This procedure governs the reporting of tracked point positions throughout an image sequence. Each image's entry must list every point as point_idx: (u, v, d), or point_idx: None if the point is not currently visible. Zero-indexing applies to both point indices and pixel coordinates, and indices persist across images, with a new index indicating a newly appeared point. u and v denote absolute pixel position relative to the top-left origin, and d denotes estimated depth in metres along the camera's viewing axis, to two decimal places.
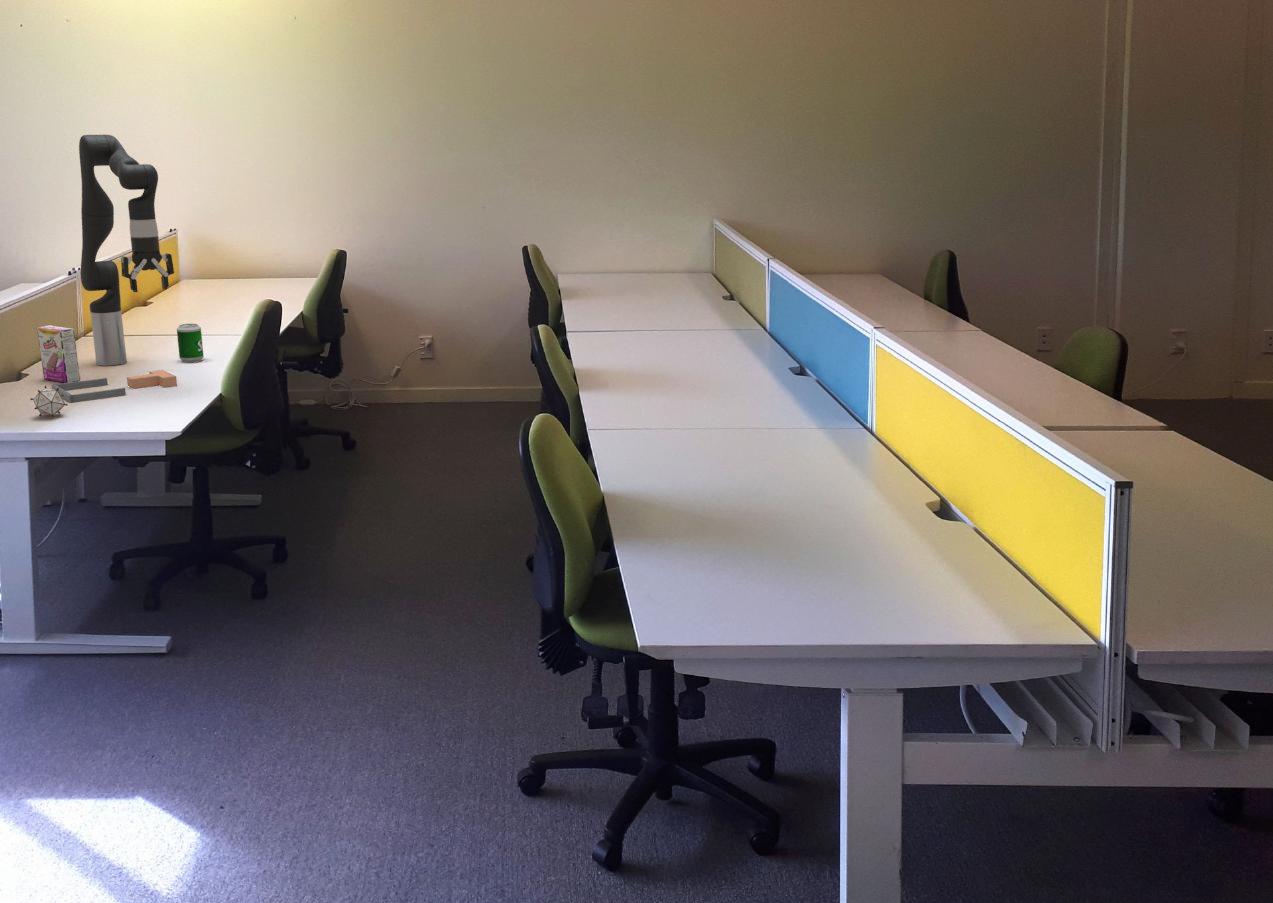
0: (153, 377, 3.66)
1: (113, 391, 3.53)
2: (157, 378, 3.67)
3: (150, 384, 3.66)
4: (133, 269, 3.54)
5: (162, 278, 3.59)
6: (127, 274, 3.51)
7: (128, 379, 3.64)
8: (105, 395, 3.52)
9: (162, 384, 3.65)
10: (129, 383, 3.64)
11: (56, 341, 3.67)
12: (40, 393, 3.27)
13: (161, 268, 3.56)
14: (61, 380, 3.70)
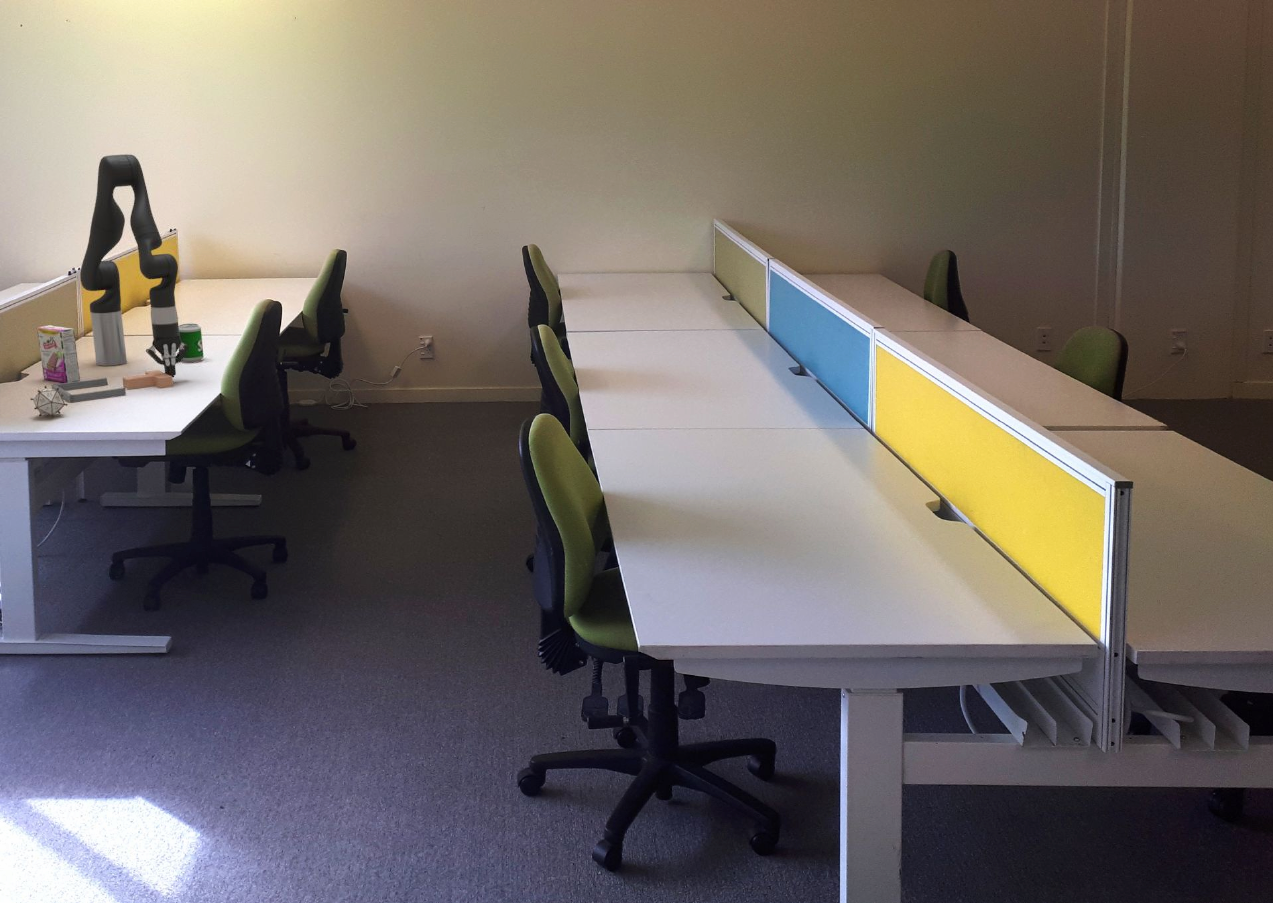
0: (149, 377, 3.65)
1: (113, 391, 3.53)
2: (153, 378, 3.66)
3: (146, 384, 3.65)
4: (162, 356, 3.69)
5: None
6: (162, 361, 3.68)
7: (124, 379, 3.63)
8: (105, 395, 3.52)
9: (158, 384, 3.65)
10: (124, 383, 3.63)
11: (56, 341, 3.67)
12: (40, 393, 3.27)
13: (174, 355, 3.69)
14: (61, 380, 3.70)
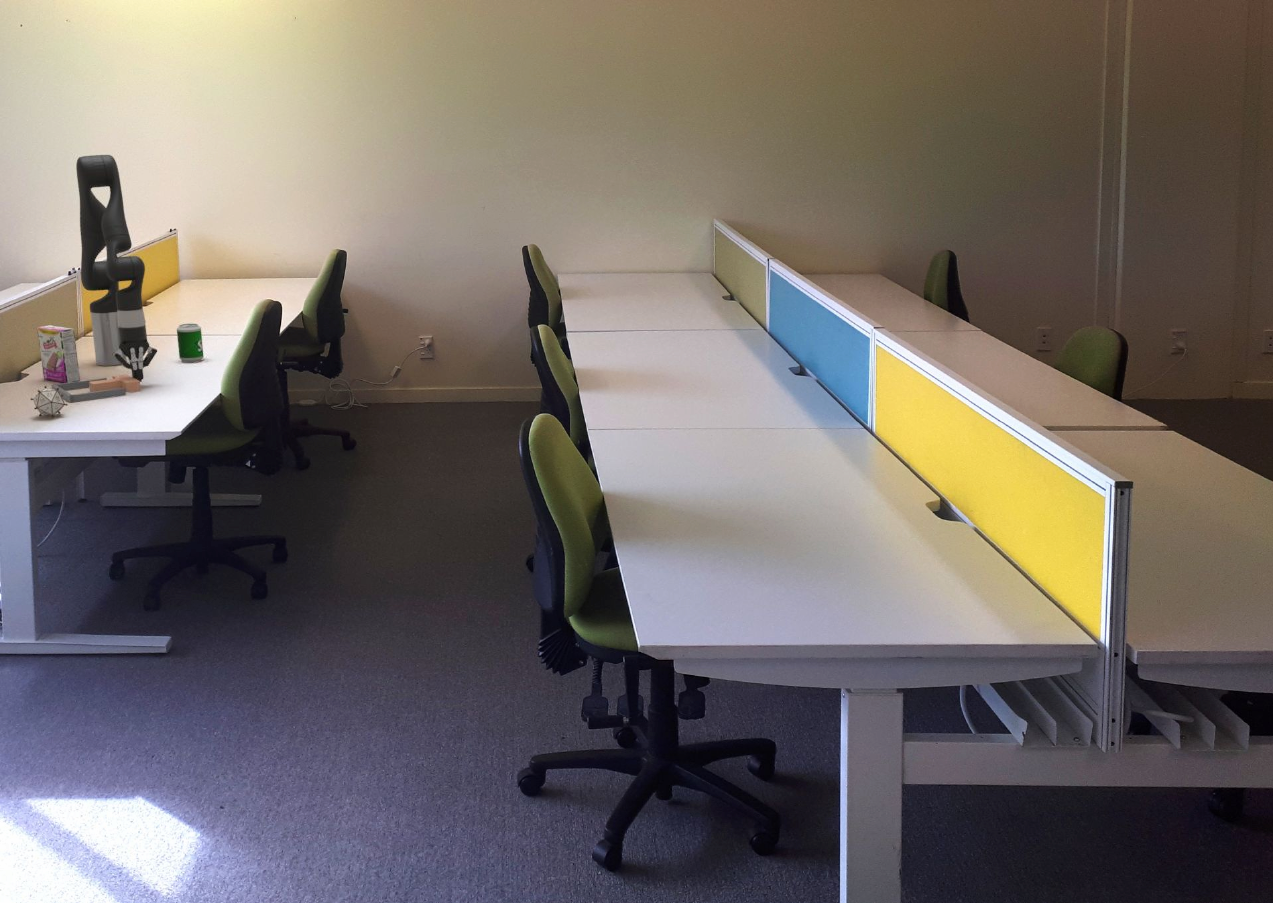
0: (116, 382, 3.59)
1: (113, 391, 3.53)
2: (120, 383, 3.60)
3: None
4: (129, 360, 3.63)
5: None
6: (129, 365, 3.62)
7: (90, 384, 3.57)
8: (105, 395, 3.52)
9: (125, 389, 3.59)
10: (91, 388, 3.57)
11: (56, 341, 3.67)
12: (40, 393, 3.27)
13: (141, 359, 3.63)
14: (61, 380, 3.70)
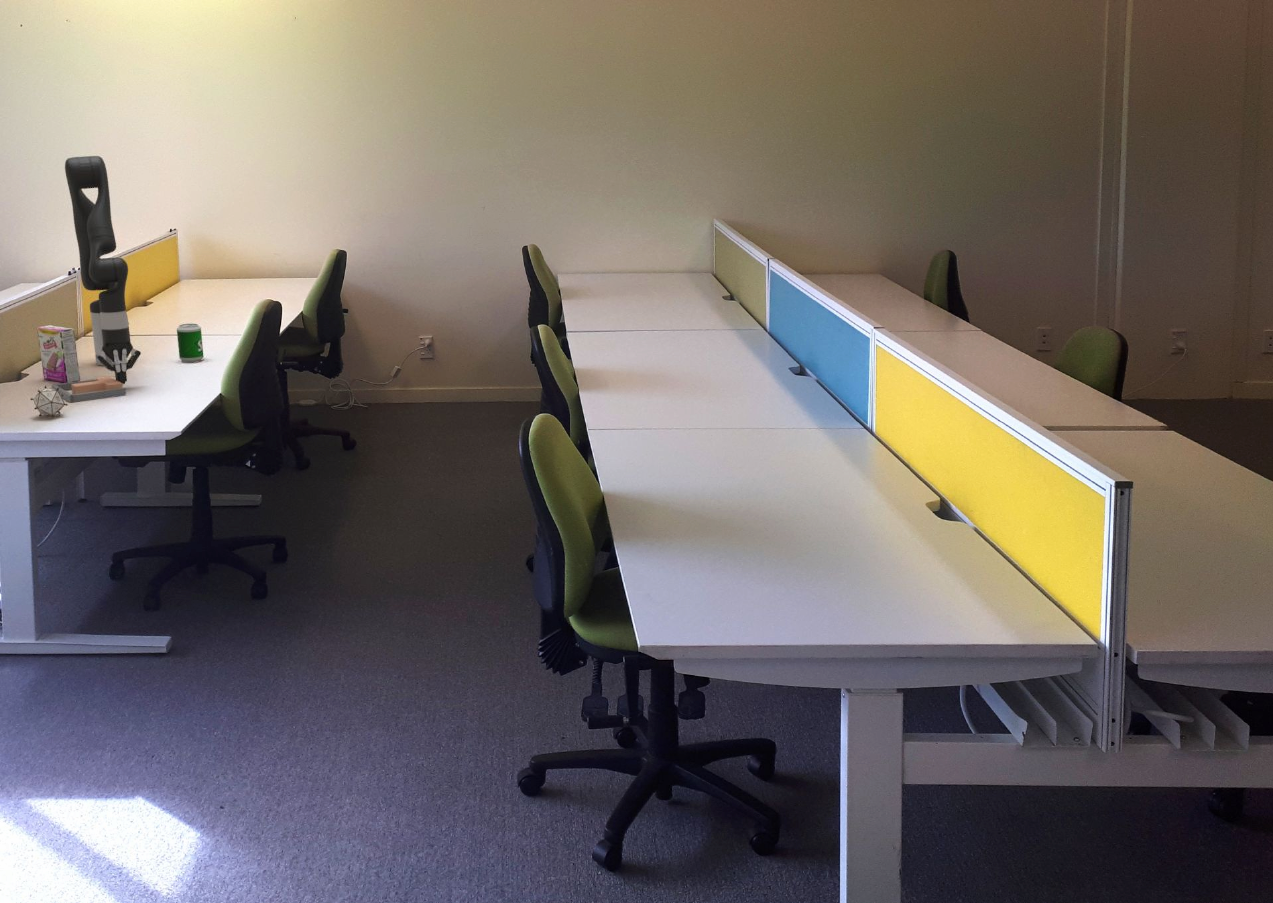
0: (99, 384, 3.56)
1: (113, 391, 3.53)
2: (103, 385, 3.57)
3: (95, 391, 3.56)
4: (113, 362, 3.60)
5: None
6: (112, 367, 3.59)
7: (73, 386, 3.54)
8: (105, 395, 3.52)
9: None
10: (73, 390, 3.54)
11: (56, 341, 3.67)
12: (40, 393, 3.27)
13: (124, 361, 3.60)
14: (61, 380, 3.70)
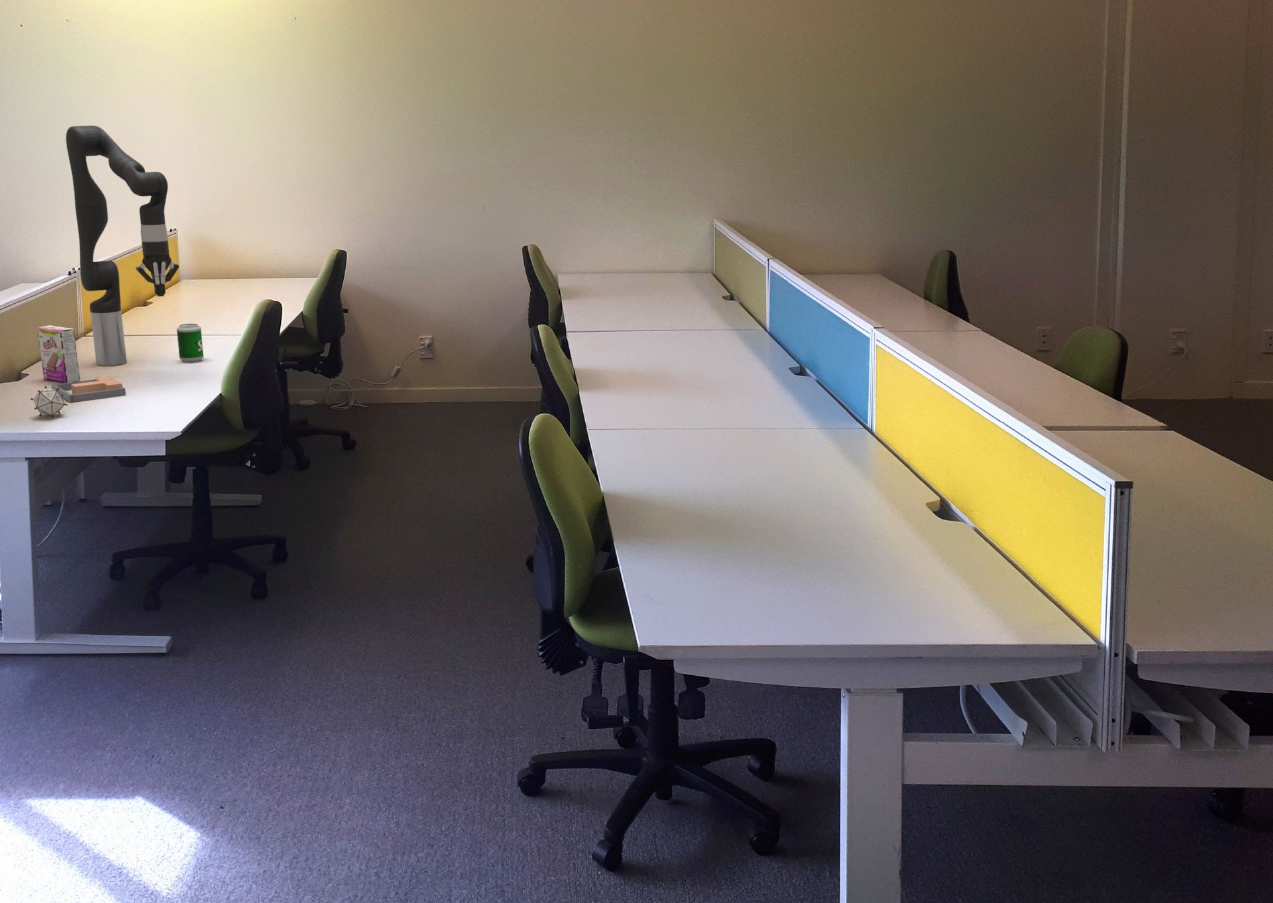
0: (98, 384, 3.56)
1: (113, 391, 3.53)
2: (103, 385, 3.57)
3: None
4: (152, 275, 3.72)
5: None
6: (152, 279, 3.70)
7: (72, 386, 3.54)
8: (105, 395, 3.52)
9: None
10: (73, 390, 3.54)
11: (56, 341, 3.67)
12: (40, 393, 3.27)
13: (164, 274, 3.72)
14: (61, 380, 3.70)
